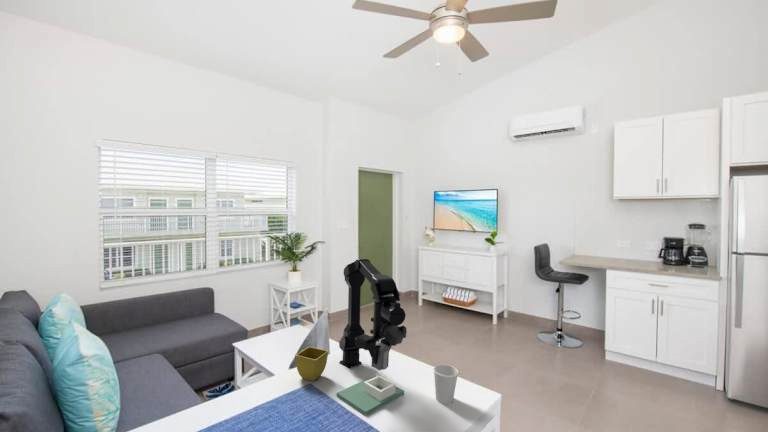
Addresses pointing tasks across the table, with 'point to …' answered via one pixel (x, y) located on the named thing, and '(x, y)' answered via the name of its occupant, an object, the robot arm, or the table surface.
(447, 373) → the dixie cup
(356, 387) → the board
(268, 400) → the table surface
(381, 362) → the plug
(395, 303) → the robot arm
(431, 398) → the table surface
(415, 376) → the table surface
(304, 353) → the flower pot
